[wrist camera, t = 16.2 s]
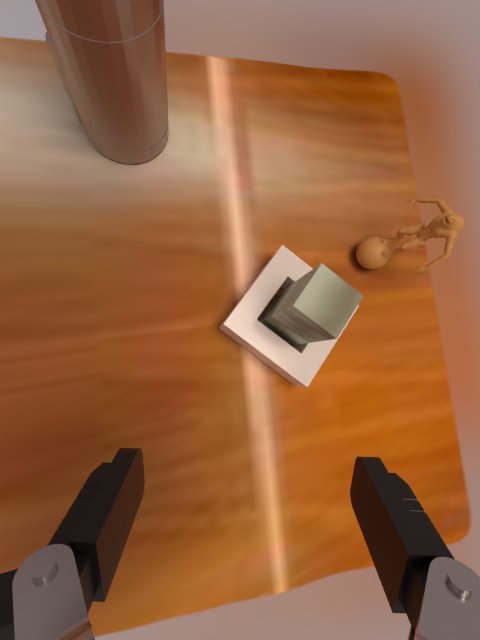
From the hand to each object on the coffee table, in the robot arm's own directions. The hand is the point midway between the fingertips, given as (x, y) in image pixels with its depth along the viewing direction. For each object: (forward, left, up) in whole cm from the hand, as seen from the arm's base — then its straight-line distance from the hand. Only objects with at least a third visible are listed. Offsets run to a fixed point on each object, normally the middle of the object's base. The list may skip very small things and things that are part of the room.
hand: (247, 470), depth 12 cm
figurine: (+7, +27, -23) cm, 36 cm away
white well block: (+2, +13, -23) cm, 27 cm away
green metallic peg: (+2, +13, -23) cm, 27 cm away
